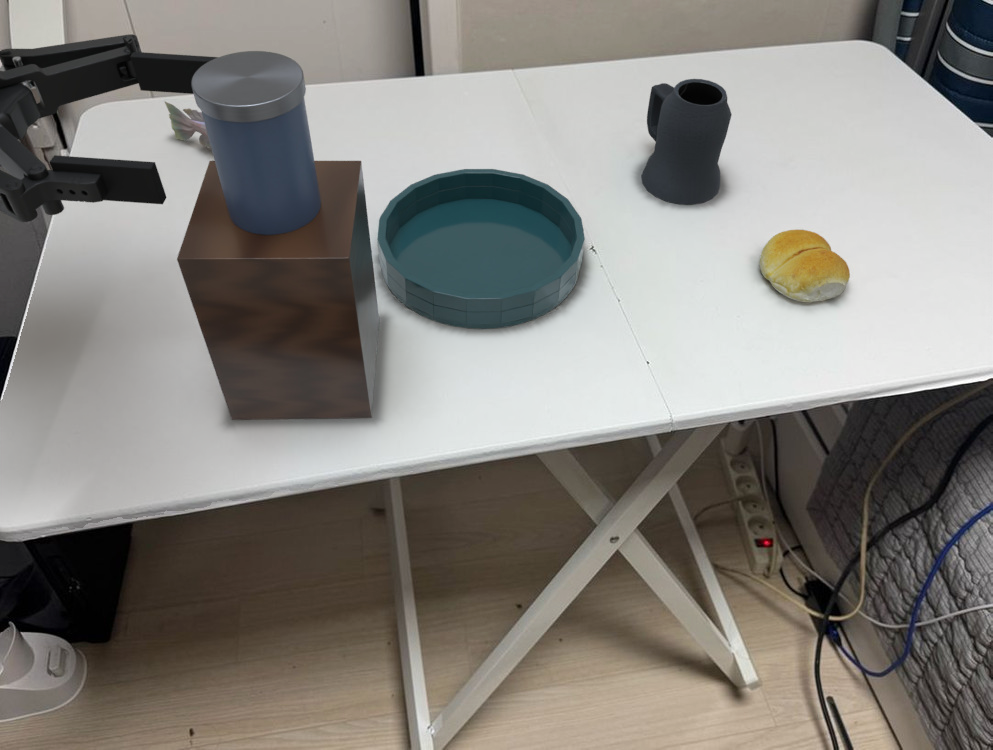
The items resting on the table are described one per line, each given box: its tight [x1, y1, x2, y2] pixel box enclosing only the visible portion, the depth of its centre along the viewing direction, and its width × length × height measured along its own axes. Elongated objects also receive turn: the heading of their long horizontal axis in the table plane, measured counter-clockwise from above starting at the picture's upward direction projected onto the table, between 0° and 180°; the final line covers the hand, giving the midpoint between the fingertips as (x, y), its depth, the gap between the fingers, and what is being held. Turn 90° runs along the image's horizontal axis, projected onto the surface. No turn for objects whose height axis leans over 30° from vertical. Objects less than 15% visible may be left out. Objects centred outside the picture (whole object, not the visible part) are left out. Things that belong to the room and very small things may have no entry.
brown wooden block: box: [176, 160, 380, 421], centre depth 69 cm, size 12×12×18 cm
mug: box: [640, 78, 733, 206], centre depth 93 cm, size 12×9×11 cm
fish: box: [163, 100, 211, 149], centre depth 96 cm, size 3×14×5 cm, turn 63°
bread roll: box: [758, 229, 851, 303], centre depth 84 cm, size 8×9×4 cm
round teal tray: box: [376, 168, 586, 330], centre depth 85 cm, size 21×21×4 cm
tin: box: [191, 50, 321, 235], centre depth 58 cm, size 7×7×10 cm
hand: (193, 126), depth 58 cm, fingers open, 13 cm apart
